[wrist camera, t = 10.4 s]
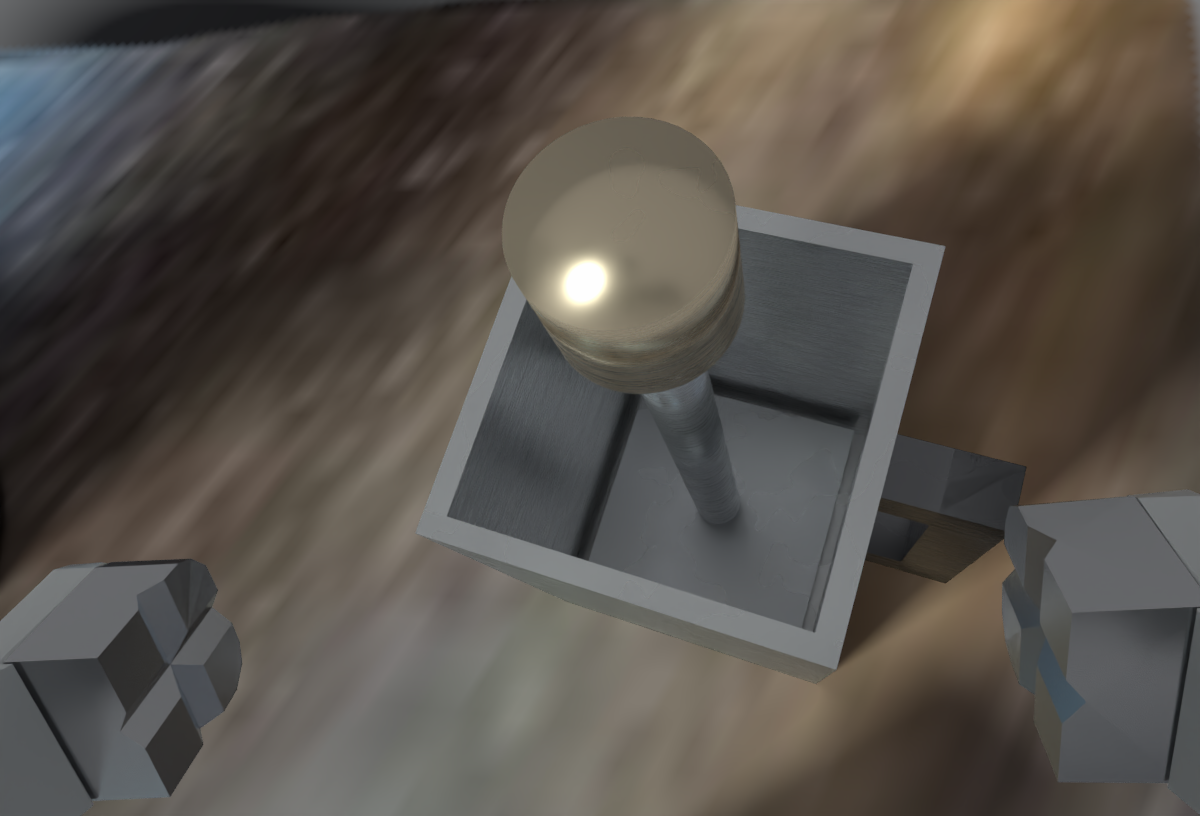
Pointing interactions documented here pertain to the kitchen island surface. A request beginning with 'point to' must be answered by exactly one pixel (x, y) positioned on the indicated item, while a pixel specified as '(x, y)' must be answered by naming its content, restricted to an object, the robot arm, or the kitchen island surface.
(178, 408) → the kitchen island surface
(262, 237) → the kitchen island surface
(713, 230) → the plunger
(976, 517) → the press
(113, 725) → the robot arm
